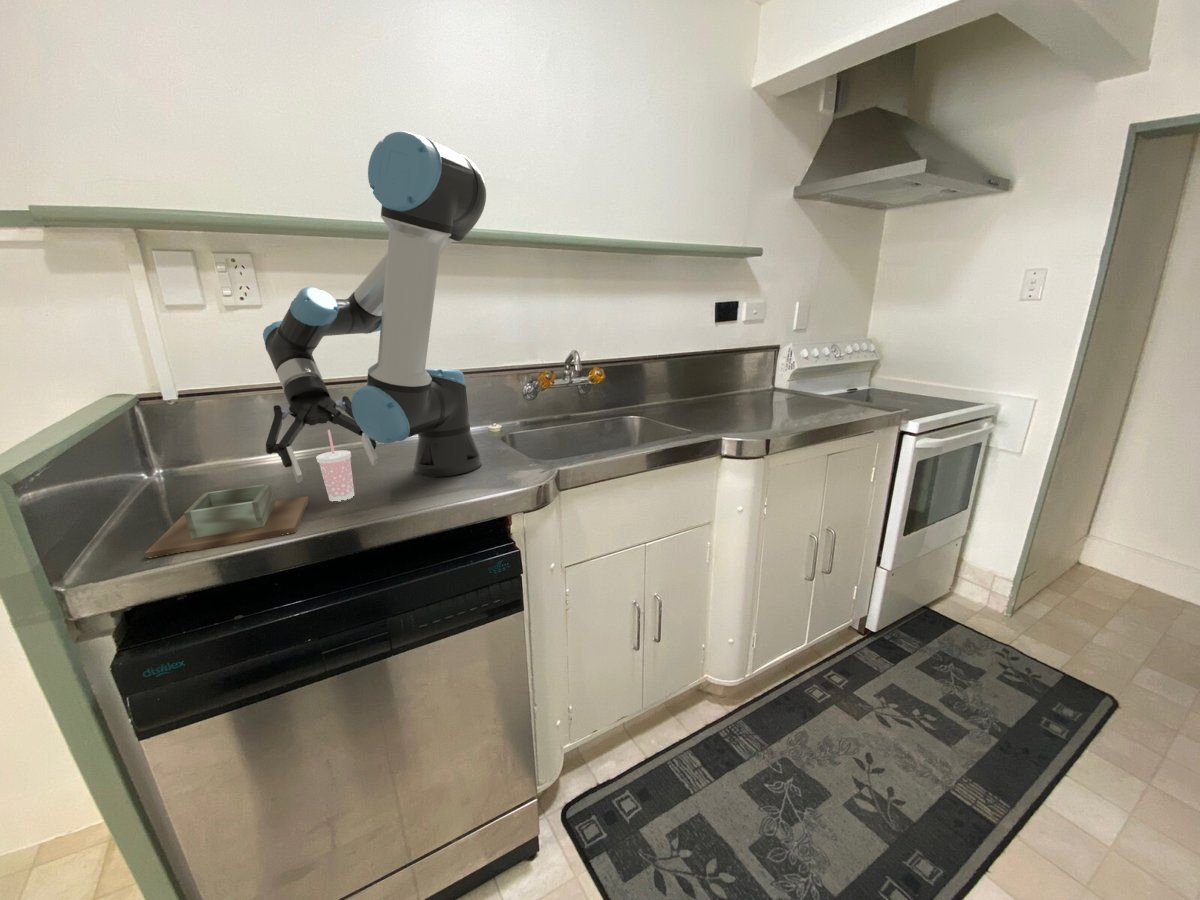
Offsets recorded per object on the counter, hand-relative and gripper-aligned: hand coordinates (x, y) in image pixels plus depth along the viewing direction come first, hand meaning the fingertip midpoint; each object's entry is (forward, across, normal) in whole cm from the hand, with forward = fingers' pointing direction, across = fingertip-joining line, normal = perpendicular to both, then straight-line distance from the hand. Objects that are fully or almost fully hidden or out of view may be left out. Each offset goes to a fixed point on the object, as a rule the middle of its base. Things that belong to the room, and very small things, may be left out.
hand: (339, 470), depth 95 cm
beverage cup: (+3, 0, -6) cm, 7 cm away
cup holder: (+4, +17, -5) cm, 19 cm away
